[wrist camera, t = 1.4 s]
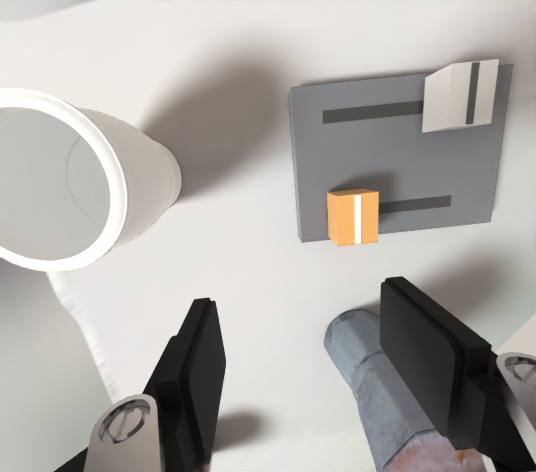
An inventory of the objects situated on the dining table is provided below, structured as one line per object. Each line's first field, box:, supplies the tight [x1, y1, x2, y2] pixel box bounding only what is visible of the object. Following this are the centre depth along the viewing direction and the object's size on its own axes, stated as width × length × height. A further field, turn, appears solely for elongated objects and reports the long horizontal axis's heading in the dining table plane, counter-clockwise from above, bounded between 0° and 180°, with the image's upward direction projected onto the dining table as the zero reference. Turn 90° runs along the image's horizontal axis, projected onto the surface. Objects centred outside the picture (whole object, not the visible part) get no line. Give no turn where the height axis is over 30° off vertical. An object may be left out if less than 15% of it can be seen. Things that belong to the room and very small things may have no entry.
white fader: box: [422, 59, 499, 133], centre depth 23 cm, size 4×5×4 cm
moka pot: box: [324, 310, 487, 472], centre depth 26 cm, size 10×15×20 cm, turn 173°
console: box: [288, 64, 513, 243], centre depth 28 cm, size 22×16×3 cm
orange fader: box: [327, 188, 379, 246], centre depth 26 cm, size 4×5×4 cm
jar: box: [0, 88, 182, 272], centre depth 22 cm, size 11×10×15 cm
